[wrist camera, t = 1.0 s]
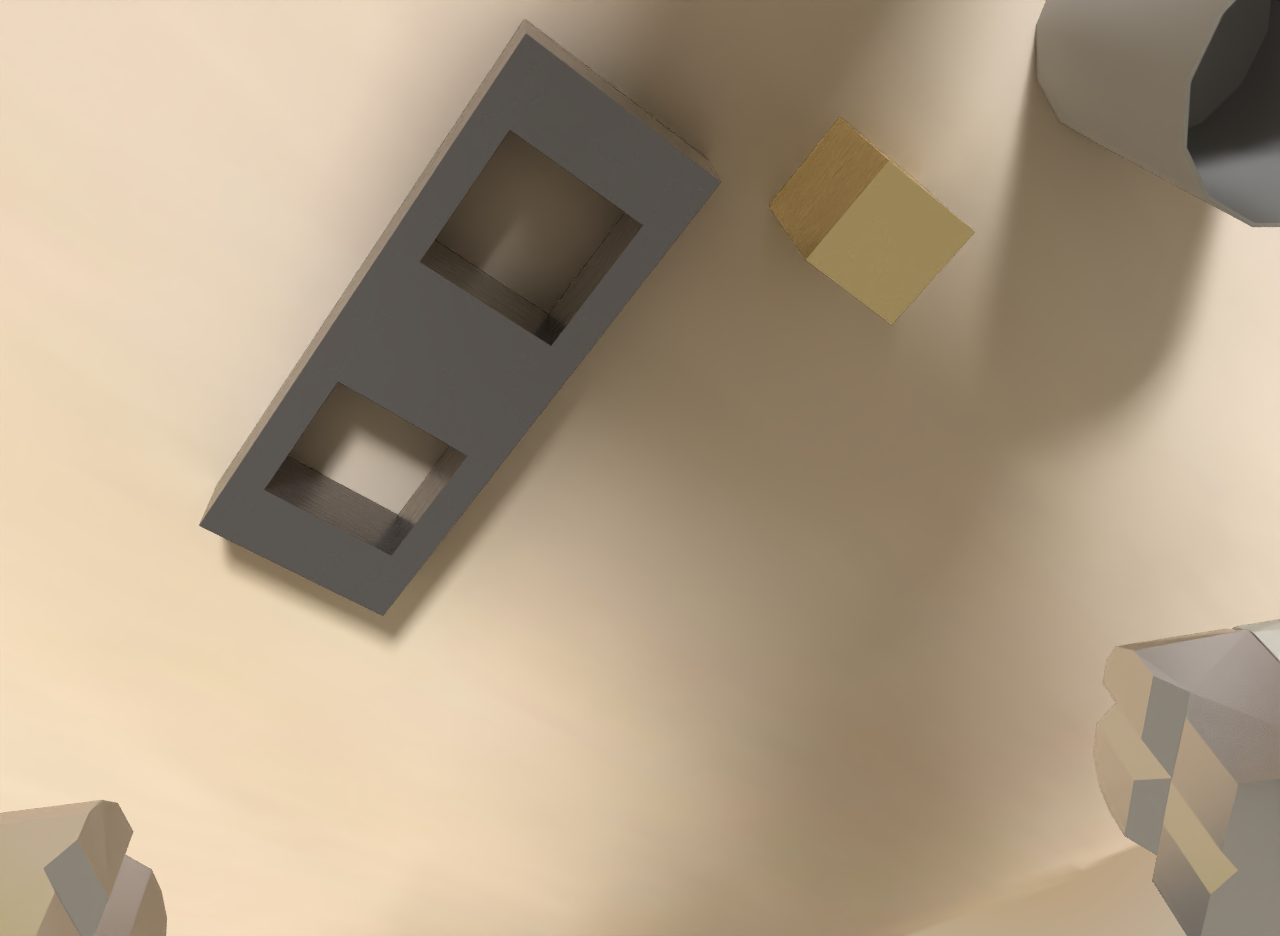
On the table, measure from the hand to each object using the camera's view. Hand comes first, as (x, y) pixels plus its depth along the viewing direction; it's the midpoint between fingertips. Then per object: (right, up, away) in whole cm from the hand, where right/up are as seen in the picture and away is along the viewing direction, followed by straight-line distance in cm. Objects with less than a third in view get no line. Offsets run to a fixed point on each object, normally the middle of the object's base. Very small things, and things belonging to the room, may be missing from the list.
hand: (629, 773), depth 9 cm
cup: (+18, +18, +30) cm, 40 cm away
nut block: (+8, +13, +32) cm, 35 cm away
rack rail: (-7, +8, +33) cm, 35 cm away
